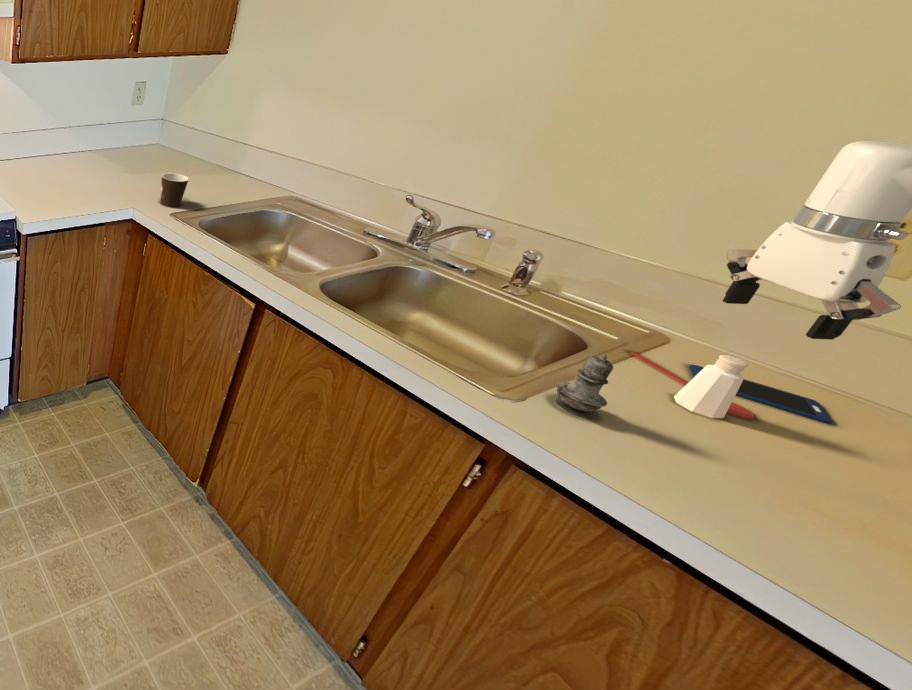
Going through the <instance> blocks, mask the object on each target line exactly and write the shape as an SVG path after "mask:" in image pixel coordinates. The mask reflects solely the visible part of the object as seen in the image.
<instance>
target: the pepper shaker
mask: <svg viewBox="0 0 912 690" xmlns="http://www.w3.org/2000/svg"><path fill="white" fill-rule="evenodd" d="M748 366H749V364H748V362H747V361H744V360H743V359H741V358H738V357H735V356H732V355H727V354H720V355H719V356H718V359H717V360H716V361H715V363H714V364H707V365H706V366H703V367H704V368H703V369H702V370H701V371H700V372H699V373H698V374H697V375H696V376H695V377H692V379H691V380H689V381H688V382H689V383H688V384H687V385H684V386H683V387H682V388H681V389H680V390H679V391H678V392H677V393H676V394H675V395H674V396H673V398H674V401H675V403H676V404H678V405H679V406H681V407H683V408H685V409H686V410H688V411H690V412H692V413H695V414H698V415H701V416H704V417H708V418H710V419H724V418H725V417H726V415H727V413H726V412H727V410H728V409H729V407H730V405H731V403H733V400H734V399H735V397H736V396H735V395H736V393H737V391H738V389H739V387H740V385H741V384H742V381H743V379H744V376H743V375H742V372H743V371H744V370H745V369H746V368H748Z"/></svg>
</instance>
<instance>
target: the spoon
mask: <svg viewBox="0 0 912 690" xmlns="http://www.w3.org/2000/svg"><path fill="white" fill-rule="evenodd" d="M629 354H630V355H632V356H633V357H635V358H637V359H639V360H641V361H642V362H644V363H646V364H647V365H650V366H651V367H653V368H654V369H656V370H658V371H660V372H662V373H663V374H665V375H666V376H669V377H671V378H672V379H673V380H676V381H677V382H679V383H681V384H682V385H684V386H686V385H687V384H688V383H689V382H690V381H687V380H685V379H683V378H681V377H680V376H678V375H677V374H674V373H672V372H671V371H670V370H667V369H665V368H664V367H662V366H660V365H659V364H657V363H655V362H653V361H652V360H650V359H648V358H647V357H644V356H642V355H641V354H639V353H637V352H629ZM726 415H730V416H733V417H736V418H739V419H744V420H753V419H754V418H755V415H754V413H752V412H751V411H750V410H749V409H747V408H746V407H743V406H741V405H740V404H737V403H734V402H732V403H731V405H730V407H729V409H728V410H727V412H726Z"/></svg>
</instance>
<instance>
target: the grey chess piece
mask: <svg viewBox="0 0 912 690" xmlns="http://www.w3.org/2000/svg"><path fill="white" fill-rule="evenodd" d="M607 359H608V356H607V355H606V354H603V355H601V357H599V356H590V357H588V358H587V360H586V361H585V363H584V364H583V366H582V367H581V368H579V369H577V370H575V371H576V376H575V377H574V379H573V380H572V381H571V382H569V381H559V382H557V383H556V384H555V387H556V395H557V397H555V398H554V399H553V400H552V401H553V403H554V404H555V406H556V407H558V408H559V409H561V410H562V411H564V412H566V413H568V414H571V415H573V416H576V417H580V418H584V419H585V418H586V419H589V418H593V413H592V412H595V411H598V410H600V409H602V408H605V407H606V406H607V405H608V402H607V400H606V398H604V396H602V395H601V394H600V391H601V390H602V388H603V386H604V385H608V384H609V380H608V377H609V376H610V374H611V373H612V371H613V370H614V365H613V363H612V362H611V361H609V360H607Z"/></svg>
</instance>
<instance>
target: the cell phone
mask: <svg viewBox="0 0 912 690" xmlns="http://www.w3.org/2000/svg"><path fill="white" fill-rule="evenodd" d="M704 367H705V366H701V365H697V364H690V365H689V367H688V368H689V370H690V372H691V375H692V378H694V377H695V376H696V375H697V374H698V373H699V372H700V371H701V370H702V369H703V368H704ZM735 397H738V398H742V399H745V400H748V401H751V402H755V403H758V404H761V405H764V406H768V407H770V408H774V409H778V410H781V411H784V412H787V413H790V414H793V415H796V416H800V417H803V418H806V419H809V420H813V421H816V422H819V423H823V424H825V425H831V424H832V423H833V420H832V418H831V416H829V414H828V412H826V410H825V408H823V406H822V405H821V404H820V403H819V402H818V401H817V400H815V399H813V398H809V397H806V396H802V395H799V394H796V393H792V392H788V391H785V390H783V389H778V388H775V387H772V386H768V385H765V384H762V383H759V382H755V381H751V380H748V379H743V381H742V384H741V385H740V387H739V389H738V391H737V393H736V395H735Z"/></svg>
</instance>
